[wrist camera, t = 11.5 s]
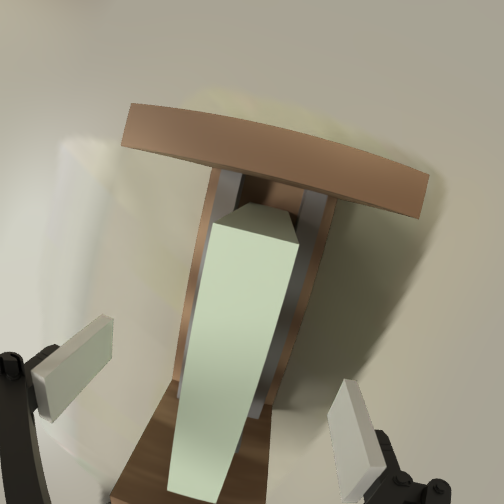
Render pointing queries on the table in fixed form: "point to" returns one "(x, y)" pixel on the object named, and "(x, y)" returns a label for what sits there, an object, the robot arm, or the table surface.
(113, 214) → the table surface
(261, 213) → the door panel
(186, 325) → the wooden rail bracket
